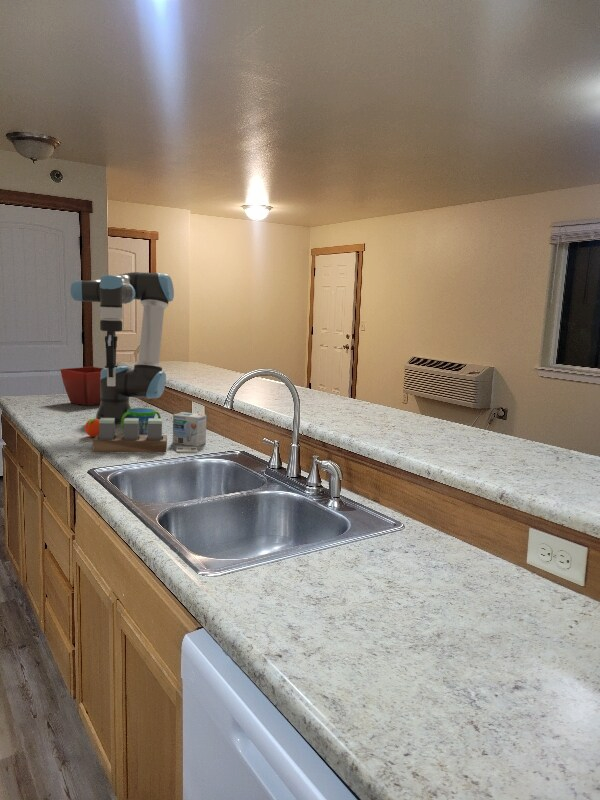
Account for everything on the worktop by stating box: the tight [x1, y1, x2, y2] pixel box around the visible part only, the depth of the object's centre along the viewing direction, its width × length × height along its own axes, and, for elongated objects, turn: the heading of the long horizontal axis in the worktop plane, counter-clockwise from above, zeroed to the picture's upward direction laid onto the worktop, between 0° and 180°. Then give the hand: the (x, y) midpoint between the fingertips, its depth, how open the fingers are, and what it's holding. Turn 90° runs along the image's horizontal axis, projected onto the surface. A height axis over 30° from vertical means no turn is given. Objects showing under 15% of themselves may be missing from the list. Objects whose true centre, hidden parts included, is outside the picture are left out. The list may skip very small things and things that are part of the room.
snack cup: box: [120, 407, 162, 435], centre depth 228 cm, size 16×10×10 cm
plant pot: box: [60, 366, 105, 406], centre depth 294 cm, size 19×19×17 cm
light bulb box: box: [172, 411, 207, 447], centre depth 221 cm, size 11×7×11 cm, turn 70°
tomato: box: [84, 417, 99, 438], centre depth 223 cm, size 8×7×7 cm
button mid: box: [123, 418, 139, 440], centre depth 207 cm, size 5×5×7 cm
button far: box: [148, 417, 163, 440], centre depth 209 cm, size 5×5×7 cm
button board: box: [92, 434, 168, 453], centre depth 208 cm, size 10×24×4 cm, turn 101°
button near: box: [99, 418, 116, 439], centre depth 205 cm, size 5×5×7 cm
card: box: [176, 446, 198, 454], centre depth 210 cm, size 6×7×1 cm
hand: (111, 385), depth 215 cm, fingers closed
